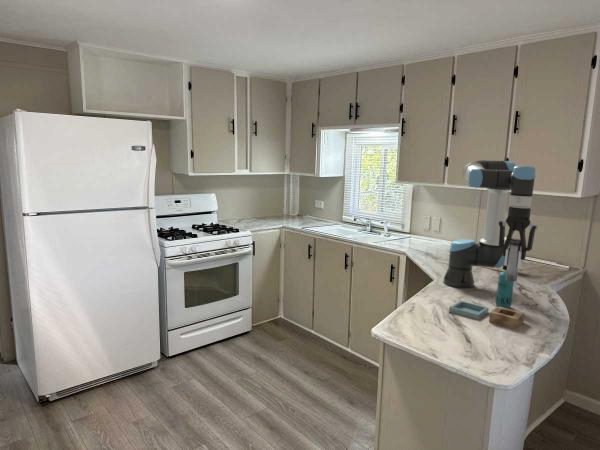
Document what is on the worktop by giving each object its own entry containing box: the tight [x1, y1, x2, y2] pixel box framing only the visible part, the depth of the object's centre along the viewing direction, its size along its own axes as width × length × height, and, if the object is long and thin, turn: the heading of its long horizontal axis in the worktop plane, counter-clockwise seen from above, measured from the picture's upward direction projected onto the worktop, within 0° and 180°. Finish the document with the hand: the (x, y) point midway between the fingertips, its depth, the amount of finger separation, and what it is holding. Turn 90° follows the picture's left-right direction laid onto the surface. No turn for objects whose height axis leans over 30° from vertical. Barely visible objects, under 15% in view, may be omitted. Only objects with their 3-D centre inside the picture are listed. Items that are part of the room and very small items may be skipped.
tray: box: [448, 300, 490, 320], centre depth 180 cm, size 12×12×3 cm
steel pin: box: [506, 237, 521, 283], centre depth 166 cm, size 5×5×16 cm
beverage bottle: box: [495, 265, 515, 309], centre depth 187 cm, size 6×7×20 cm
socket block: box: [488, 306, 525, 330], centre depth 170 cm, size 10×10×5 cm
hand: (512, 266), depth 167 cm, fingers closed on steel pin, 4 cm apart
